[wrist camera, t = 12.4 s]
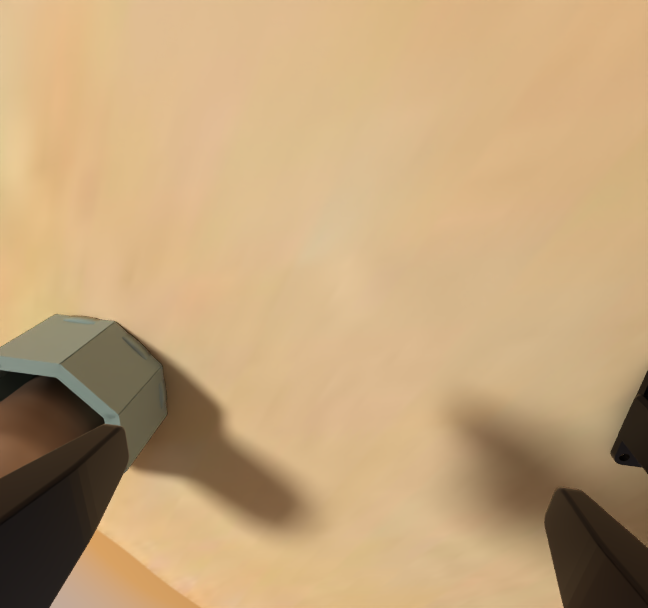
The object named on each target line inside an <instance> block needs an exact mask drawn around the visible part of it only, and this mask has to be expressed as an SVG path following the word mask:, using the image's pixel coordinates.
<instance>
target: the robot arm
mask: <svg viewBox="0 0 648 608" xmlns="http://www.w3.org/2000/svg"><path fill="white" fill-rule="evenodd" d="M622 454H624V455H622ZM621 455H622V456H621ZM611 456H612V458H613V459H614V461H615V462H616V463H618V464H621V465H628V466H635V467H642V468H644V470H645V471H646V472H647V474H648V371H647V373H646V375H645V378H644V380H643V382H642V384H641V386H640V389H639V391H638V393H637V395H636V397H635V399H634V401H633V403H632V405H631V407H630V410H629V412H628V414H627V416H626V418H625V420H624V423H623V425H622V427H621V429H620V431H619V434H618V437H617V439H616V441H615V443H614V445H613V448H612V450H611ZM128 461H129V451H128V444H127V438H126V432H125V429H124V428H123V427H122V426H119V425H112V424H103V425H101V426H99V427H97V428H95V429H93V430H91V431H89V432H87V433H85V434H83V435H81V436H79V437H78V438H76V439H74V440H72V441H70V442H68V443H66V444H64V445H62V446H60V447H58V448H57V449H55V450H53V451H51V452H49V453H47V454H45V455H43V456H41V457H39V458H38V459H36V460H34V461H32V462H30V463H28V464H26V465H24V466H22V467H20V468H18V469H17V470H15V471H13V472H11V473H9V474H7V475H5V476H3V477H1V478H0V608H49V607H50V606H51V604H52V602H53V601H54V599H55V597H56V596H57V594H58V592H59V591H60V589H61V588H62V586H63V584H64V583H65V581H66V579H67V578H68V576H69V575H70V573H71V571H72V570H73V568H74V566H75V565H76V563H77V561H78V560H79V558H80V556H81V555H82V553H83V551H84V550H85V548H86V547H87V545H88V543H89V541H90V540H91V538H92V536H93V534H94V532H95V531H96V529H97V527H98V525H99V523H100V521H101V519H102V517H103V515H104V513H105V510H106V508H107V506H108V504H109V502H110V500H111V498H112V496H113V494H114V492H115V490H116V488H117V486H118V484H119V482H120V480H121V478H122V475H123V473H124V471H125V469H126V467H127V465H128ZM544 523H545V530H546V534H547V539H548V543H549V547H550V552H551V556H552V560H553V564H554V569H555V573H556V577H557V582H558V586H559V590H560V595H561V599H562V603H563V606H564V608H648V548H647V547H646V546H645V545H644V544H643V543H641V542H640V541H639V540H638V539H637V538H636V537H635V536H633V535H632V534H631V533H630V532H629V531H628V530H627V529H625V528H624V527H623V526H622V525H621V524H620V523H619V522H617V521H616V520H615V519H614V518H613V517H612V516H611V515H609V514H608V513H607V512H606V511H605V510H604V509H603V508H601V507H600V506H599V505H598V504H597V503H596V502H594V501H593V500H592V499H591V498H590V497H589V496H588V495H586V494H585V493H584V492H583V491H581V490H579V489H574V488H567V487H558V488H557V489H556V490H555V492H554V494H553V497H552V499H551V502H550V504H549V507H548V509H547V511H546V514H545V521H544Z"/></svg>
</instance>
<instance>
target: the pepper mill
mask: <svg viewBox="0 0 648 608" xmlns="http://www.w3.org/2000/svg"><path fill="white" fill-rule="evenodd" d="M103 424H105V422H104V418H103V417H102V416H101V415H99V414H98V413H97V412H96V411H95V410H94V409H92V408H91V407H90V406H89V405H88V404H87V403H85V402H84V401H83V400H82V399H81V398H80V397H78V396H77V395H76V394H75V393H74V392H73V391H71V390H70V389H69V388H68V387H67V386H66V385H64V384H63V383H62V382H61V381H60V380H59V379H57V378H56V377H49V376H41V375H36V376H35V377H33V378H32V379H31V380H29V381H28V382H27V383H25V384H24V385H23V386H21V387H20V388H19V389H17V390H16V391H15V392H13V393H12V394H11V395H9V396H8V397H7V398H5V399H4V400H3V401H1V402H0V478H1V477H3V476H5V475H7V474H9V473H11V472H13V471H15V470H17V469H18V468H20V467H22V466H24V465H26V464H28V463H30V462H32V461H34V460H36V459H38V458H39V457H41V456H43V455H45V454H47V453H49V452H51V451H53V450H55V449H57V448H58V447H60V446H62V445H64V444H66V443H68V442H70V441H72V440H74V439H76V438H78V437H79V436H81V435H83V434H85V433H87V432H89V431H91V430H93V429H95V428H97V427H99V426H101V425H103Z"/></svg>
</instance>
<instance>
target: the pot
mask: <svg viewBox="0 0 648 608" xmlns="http://www.w3.org/2000/svg"><path fill="white" fill-rule="evenodd" d="M36 375H41V376H49V377H56V378H57V379H59V380H60V381H61V382H62V383H63V384H64V385H66V386H67V387H68V388H69V389H70V390H71V391H73V392H74V393H75V394H76V395H77V396H78V397H80V398H81V399H82V400H83V401H84V402H85V403H87V404H88V405H89V406H90V407H91V408H92V409H94V410H95V411H96V412H97V413H98V414H99V415H101V416H102V417H103V418H104V422H105V424H112V425H119V426H122V427H123V428H124V429H125V432H126V438H127V444H128V451H129V461H128V465H127V467H126V469H125V471H124V473H125V472H126V471H127V470H128V469H129V467H130V466H131V465H132V463H133V462H134V460H135V459H136V458H137V456H138V455H139V453H140V452H141V451H142V449H143V448H144V446H145V445H146V444H147V442H148V441H149V439H150V438H151V437H152V435H153V434H154V432H155V431H156V430H157V428H158V427H159V425H160V424H161V423H162V421H163V420H164V418H165V417H166V416H167V407H166V400H167V391H166V385H165V381H164V377H163V366H162V365H161V364H160V363H159V362H158V361H157V360H156V359H155V358H154V357H153V356H152V355H151V354H150V353H149V352H148V350H147V349H146V348H145V347H144V346H143V345H142V344H141V343H140V342H139V341H138V340H136V339H135V338H134V337H133V336H131V335H130V334H129V333H127V332H126V331H125V330H124V329H123V328H122V327H121V326H120V325H119V324H118V323H116V322H115V321H108V320H100V319H97V318H93V317H87V316H67V315H59V314H55V315H53V316H51V317H50V318H48V319H46V320H45V321H43V322H41V323H40V324H38V325H36V326H35V327H33V328H31V329H30V330H28V331H26V332H25V333H23V334H21V335H20V336H18V337H16V338H15V339H13V340H11V341H10V342H8V343H6V344H5V345H3V346H1V347H0V402H1V401H3V400H4V399H5V398H7V397H8V396H9V395H11V394H12V393H13V392H15V391H16V390H17V389H19V388H20V387H21V386H23V385H24V384H25V383H27V382H28V381H29V380H31V379H32V378H33V377H35V376H36Z"/></svg>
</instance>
